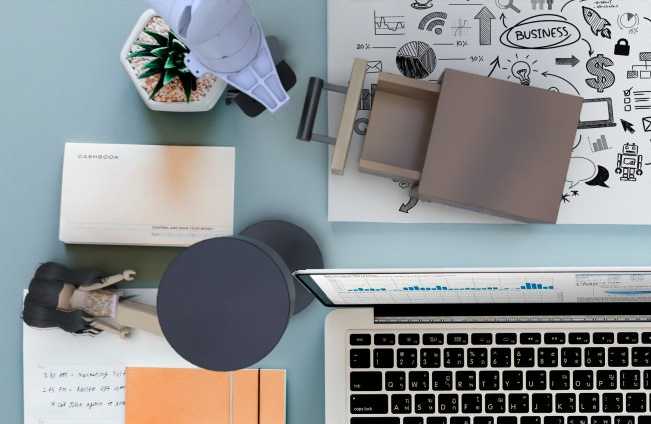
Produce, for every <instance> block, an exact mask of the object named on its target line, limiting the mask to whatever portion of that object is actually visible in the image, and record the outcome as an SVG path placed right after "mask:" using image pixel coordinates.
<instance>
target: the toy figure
mask: <svg viewBox="0 0 651 424" xmlns="http://www.w3.org/2000/svg"><path fill="white" fill-rule="evenodd" d="M38 265H39V266H37V268H36V267H35V269H34V270H35V273H34V274H33V278H31V280H30V281H29V283H28V288H27V291H28V292H27V293H26V294H25V296H24V300H23V310H22V312H21V313H20V316H19V318H20V319H22V321H23V322H24V324H25V325H27V326H28V327H29V328H31V329H34V330H35V328H36V329H37V331H38V330H39V331H41V329H47V331H50V330H52V329H53V328H56V330H60V329H61V330H62V331H64V332H65V333H69V334H70V335H73V336H74V337H77V335H82V337H83V336H85V337H86V334H87V333H88V334H87V336H88V337H89V336H90V337H92V338H95V336H97V335H99V334H101V333H102V332H108V333H111V334H113V335H119V338H120V339H122V340H130V339H132V336H131V328H132V329H138V330H140V331H143V332H146V333H149V334H152V335H155V336H158V337H160V338H161V337H165V336H164V334H163V333H162V330H161V327H160V325H159V321H158V317H157V308H156V307H154V306H152V305H148V304H143V303H139V302H135V301H130V299H133V298H138V297H140V296H141V294H131V295H127V296H124V295H125V291H124V290H119V291H118V286H117V285H116V283H118V282H120V281H122V280H126V281H133V280H134V279H135V278H134V276H130V275H136V274H137V272H136V271H135V270H133V269H126V270H124V271H123V272H122V274H121V273H118V274H115V275H112V276H108V275H107V273H106V272H105V271H98V270H95V269H93V268H92V267H90V266H87V267H85V266H84V267H78V268H76V269H73V268H69V267H68V266H66V265H64V264H62V263H61V264H60V263H59V262H56V261H55V262H54V261H46V262H40V263H38ZM104 274H105V276H104ZM76 287H78V288H76ZM110 289H111V290H110ZM114 289H115V290H117V291H113V290H114ZM21 314H22V316H21ZM105 316H106V317H107V316H108V318H110V319H112V321H113V323H115V324H117V325H119V326H122V327H120V328H119V327H117V326H115V325H112V324H111V323H109V322H106V321H105V320H103V319H100V318H99V317H105ZM92 330H93V331H92Z"/></svg>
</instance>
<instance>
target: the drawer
mask: <svg viewBox="0 0 651 424" xmlns="http://www.w3.org/2000/svg"><path fill="white" fill-rule="evenodd" d="M368 62H369V61H368V60H367V59H364V58H359V57H354V61H353V65H352V69H351V74H350V79H349V83H348V86H343V85H340V84H334V83H331V82H325V80H324V79H323V78H320V77H317V76H309V79H308V83H307V87H306V92H305V95H304V101H303V105H302V109H301V114H300V119H299V123H298V127H297V132H296V136H295V139H296V140H298V141H301V142H305V143H311V141H313V142H317V143H322V144H327V145H332V146H334V148H333V154H332V157H331V163H330V167H329V168H330V172H331V173H332V174H334V175H339V176H344V174H345V169H346V166H347V160H348V156H349V151H350V149H351V144H352V139H353V134H354V130H355V125H356V122H357V121H356V120H357V116H358V112H359V107H360V103H361V99H362V94H363V89H364V85H365V82H366V78H367V77H366V76H367V69H368ZM440 86H441V84H437V83H436V82H431V81H428V80H423V79H418V78H413V77H409V76H404V75H400V74H395V73H391V72H385V71H379V74H378V78H377V83H376V86H375V90H374V95H373V100H372V104H371V109H370V113H369V118H368V122H367V127H366V131H365V135H364V140H363V145H362V149H361V153H360V158H359V162H358V167H357V172H358V173H361V174H362V173H363V174H367V175H372V176H376V177H381V178H384V179H389V180H395V181H399V182H403V183H408V184H416V185H418V184H419V180H420V175H421V171H422V166H423V162H424V158H425V153H426V149H427V144H428V140H429V135H430V131H431V126H432V122H433V117H434V113H435V109H436V104H437V100H438V95H439V91H440ZM323 90H324V91H329V92H333V93H338V94H342V95H346V96H345V100H344V105H343V108H342V114H341V118H340V122H339V126H338V131H337V132H338V133H337V136H336V137H330V136H326V135H321V134H317V133H313V132H314V126H315V123H316V119H317V115H318V114H317V113H318V110H319V105H320V100H321V97H322V91H323Z"/></svg>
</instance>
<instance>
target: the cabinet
mask: <svg viewBox="0 0 651 424" xmlns="http://www.w3.org/2000/svg"><path fill="white" fill-rule="evenodd" d="M435 83H437V84H441V86H440V91H439V95H438V100H437V104H436V109H435V113H434V117H433V122H432V126H431V131H430V135H429V140H428V144H427V149H426V153H425V158H424V162H423V166H422V171H421V175H420V180H419V184H418V185H416V184H412V183H410V189H409V192H408V193H409V194H408V197H409V198H413V199H417V200H422V201H425V202H430V203H435V204H440V205H443V206H447V207H451V208H457V209H462V210H467V211H471V212H473V213H474V212H475V213H479V214H484V215H488V216H493V217H497V218H502V219H507V220H511V221H514V222H520V223H524V224H529V225H556V224H557V221H558V216H559V211H560V208H561V203H562V199H563V193H564V190H565V185H566V180H567V176H568V171H569V166H570V163H571V158H572V154H573V150H574V149H573V148H574V146H575V145H574V144H575V140H576V136H577V132H578V127H579V124H580V123H579V122H580V117H581V113H582V108H583V104H584V100H585V98H584V97H583V96H580V95H579V96H578V95H574V94H570V93H566V92H565V93H564V92H560V91H556V90H550V89H546V88H542V87H537V86H532V85H528V84H523V83H518V82H514V81H510V80H505V79H501V78H500V79H499V78H496V77H491V76H490V77H489V76H487V75H481V74H477V73H472V72H468V71H463V70H458V69H454V68H448V67H445V68H444V69H443V72H442V73H441V74H440V76H439V78H438V79H437V80H436V82H435Z"/></svg>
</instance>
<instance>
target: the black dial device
mask: <svg viewBox="0 0 651 424" xmlns="http://www.w3.org/2000/svg"><path fill="white" fill-rule="evenodd" d="M265 39H266V42H267V45H268V48H269V51H270V53H271V56H272V59H273V62H274V65H275V66H276V65H277V64H278V63H279V62H281V61H282V60H285V61H286V59H285V56H284V52H283V50H282V47H281V44H280V41H279V38H278V36H275V35H272V34H271V35H268V36H265ZM241 92H242V91H240V90H239V89H237V88H229V89H226V91H225V98H224V102H225V105H226V106H230V105H232V104H233V101H234V100H233V98H235V97H236V96H237V95H238V94H239V93H241Z"/></svg>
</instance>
